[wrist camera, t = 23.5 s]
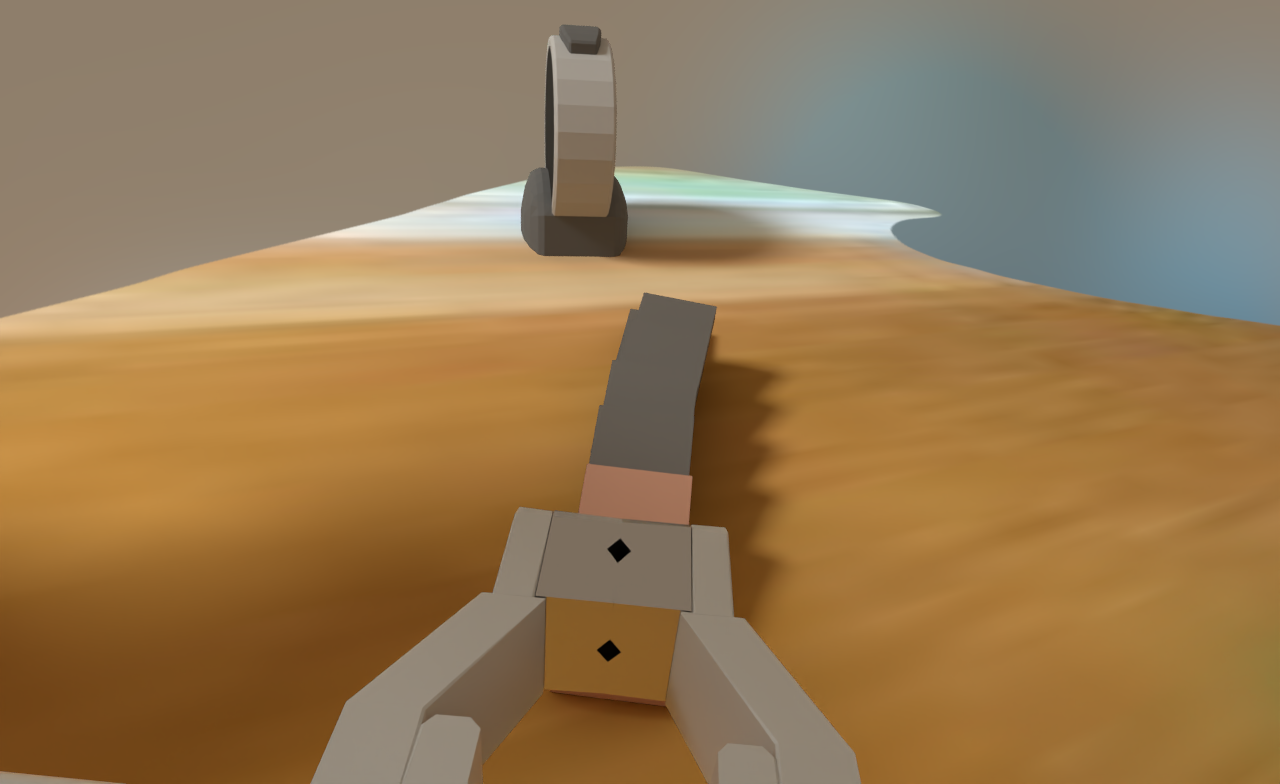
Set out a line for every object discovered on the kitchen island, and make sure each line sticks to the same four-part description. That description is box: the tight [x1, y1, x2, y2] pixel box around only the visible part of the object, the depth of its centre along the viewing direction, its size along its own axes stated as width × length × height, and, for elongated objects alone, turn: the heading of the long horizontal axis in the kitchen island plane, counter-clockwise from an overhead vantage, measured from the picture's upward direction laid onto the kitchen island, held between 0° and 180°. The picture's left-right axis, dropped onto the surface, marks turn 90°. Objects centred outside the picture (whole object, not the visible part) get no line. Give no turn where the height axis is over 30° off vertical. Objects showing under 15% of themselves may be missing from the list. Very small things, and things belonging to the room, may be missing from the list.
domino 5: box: [550, 464, 692, 706], centre depth 33 cm, size 2×5×10 cm
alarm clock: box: [521, 25, 628, 257], centre depth 69 cm, size 16×10×18 cm, turn 9°
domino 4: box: [589, 405, 694, 476], centre depth 37 cm, size 2×5×10 cm
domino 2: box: [591, 319, 710, 450], centre depth 45 cm, size 2×5×10 cm
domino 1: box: [636, 293, 717, 346], centre depth 48 cm, size 2×5×10 cm
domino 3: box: [603, 360, 699, 416], centre depth 41 cm, size 2×5×10 cm
